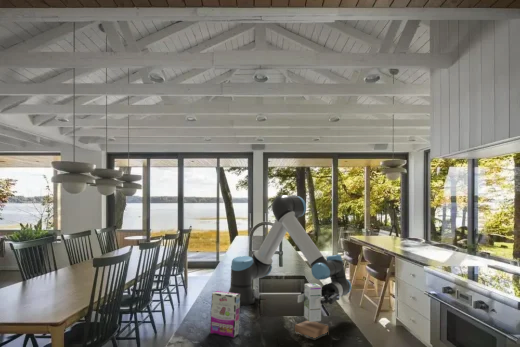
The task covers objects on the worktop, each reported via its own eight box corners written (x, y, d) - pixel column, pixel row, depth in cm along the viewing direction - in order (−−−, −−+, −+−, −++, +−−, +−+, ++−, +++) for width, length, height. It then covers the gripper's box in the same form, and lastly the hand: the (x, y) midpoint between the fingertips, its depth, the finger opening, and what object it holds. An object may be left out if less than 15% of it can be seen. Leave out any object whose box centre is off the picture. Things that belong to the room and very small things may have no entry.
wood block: (309, 329, 160) (309, 319, 161) (328, 335, 153) (328, 326, 154) (294, 334, 153) (295, 324, 154) (314, 341, 146) (314, 331, 146)
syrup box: (321, 321, 152) (322, 286, 153) (308, 322, 150) (309, 286, 151) (315, 316, 157) (316, 282, 158) (303, 317, 156) (304, 283, 157)
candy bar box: (239, 333, 150) (241, 293, 151) (234, 338, 146) (236, 296, 147) (215, 329, 154) (217, 290, 155) (209, 333, 150) (211, 292, 151)
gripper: (352, 304, 162) (329, 316, 144) (311, 295, 175) (286, 305, 156) (352, 287, 163) (329, 296, 145) (312, 279, 175) (286, 287, 157)
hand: (307, 301), depth 151 cm, fingers closed on syrup box, 8 cm apart
